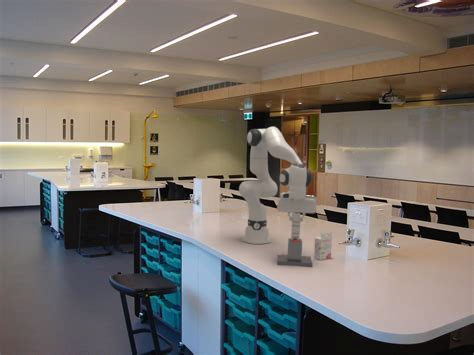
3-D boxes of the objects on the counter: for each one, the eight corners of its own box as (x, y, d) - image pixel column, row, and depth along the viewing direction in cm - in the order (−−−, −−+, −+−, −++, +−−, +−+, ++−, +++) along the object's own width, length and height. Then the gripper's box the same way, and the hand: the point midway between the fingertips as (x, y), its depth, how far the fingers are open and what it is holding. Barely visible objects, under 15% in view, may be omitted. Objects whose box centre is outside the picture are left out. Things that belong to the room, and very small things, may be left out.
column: (290, 246, 227) (292, 212, 226) (298, 246, 227) (300, 213, 225) (290, 248, 223) (292, 214, 222) (299, 248, 223) (300, 214, 221)
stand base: (277, 258, 233) (278, 234, 232) (310, 260, 231) (311, 236, 230) (277, 264, 220) (278, 240, 219) (312, 266, 218) (313, 242, 217)
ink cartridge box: (324, 256, 240) (326, 230, 239) (331, 258, 236) (332, 232, 235) (313, 258, 236) (314, 231, 235) (319, 260, 232) (321, 233, 230)
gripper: (316, 194, 225) (315, 220, 226) (277, 193, 227) (276, 218, 228) (317, 196, 219) (316, 223, 220) (277, 194, 220) (276, 220, 222)
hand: (296, 220), depth 224 cm, fingers closed on column, 4 cm apart
